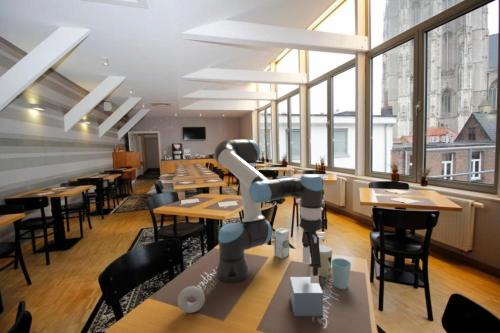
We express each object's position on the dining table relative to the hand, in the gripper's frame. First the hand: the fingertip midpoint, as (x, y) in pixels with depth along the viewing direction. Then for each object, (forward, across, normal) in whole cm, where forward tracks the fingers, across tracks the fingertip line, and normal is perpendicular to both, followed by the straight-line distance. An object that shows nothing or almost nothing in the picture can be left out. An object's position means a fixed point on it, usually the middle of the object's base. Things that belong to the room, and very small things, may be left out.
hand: (310, 272), depth 91 cm
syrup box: (+14, +40, +6) cm, 43 cm away
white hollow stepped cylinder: (+14, +36, -12) cm, 40 cm away
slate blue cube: (+13, -1, +2) cm, 14 cm away
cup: (+14, +12, -16) cm, 25 cm away
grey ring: (+14, -3, +44) cm, 46 cm away
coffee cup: (+14, +23, -11) cm, 29 cm away
